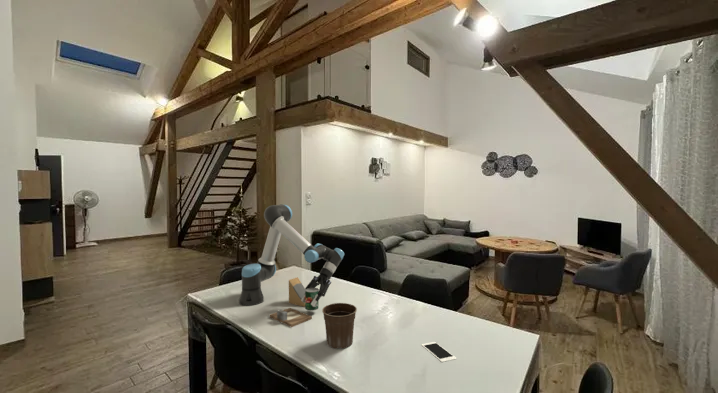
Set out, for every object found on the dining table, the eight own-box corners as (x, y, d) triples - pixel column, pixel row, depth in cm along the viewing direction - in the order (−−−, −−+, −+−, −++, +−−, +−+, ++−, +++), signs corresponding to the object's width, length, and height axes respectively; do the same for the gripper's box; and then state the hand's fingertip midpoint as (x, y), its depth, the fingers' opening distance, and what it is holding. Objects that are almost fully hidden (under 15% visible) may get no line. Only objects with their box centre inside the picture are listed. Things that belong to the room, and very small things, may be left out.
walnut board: (269, 317, 176) (269, 307, 176) (289, 310, 187) (289, 301, 187) (291, 327, 163) (291, 316, 163) (311, 319, 174) (311, 309, 174)
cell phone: (441, 363, 130) (441, 361, 130) (420, 345, 145) (420, 344, 145) (457, 359, 133) (457, 358, 133) (435, 342, 148) (435, 341, 148)
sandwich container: (306, 307, 192) (306, 283, 191) (288, 303, 200) (288, 279, 199) (315, 303, 199) (315, 280, 199) (297, 299, 207) (297, 276, 207)
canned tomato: (302, 309, 181) (302, 290, 181) (309, 305, 188) (309, 287, 188) (314, 311, 178) (314, 292, 178) (320, 306, 186) (321, 288, 185)
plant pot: (343, 355, 135) (343, 318, 135) (315, 345, 144) (315, 311, 144) (363, 340, 149) (363, 307, 149) (335, 332, 158) (336, 300, 157)
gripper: (342, 277, 188) (322, 311, 176) (319, 271, 201) (299, 302, 189) (336, 270, 184) (316, 304, 172) (313, 264, 197) (292, 296, 185)
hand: (307, 303), depth 181 cm, fingers closed on canned tomato, 8 cm apart
